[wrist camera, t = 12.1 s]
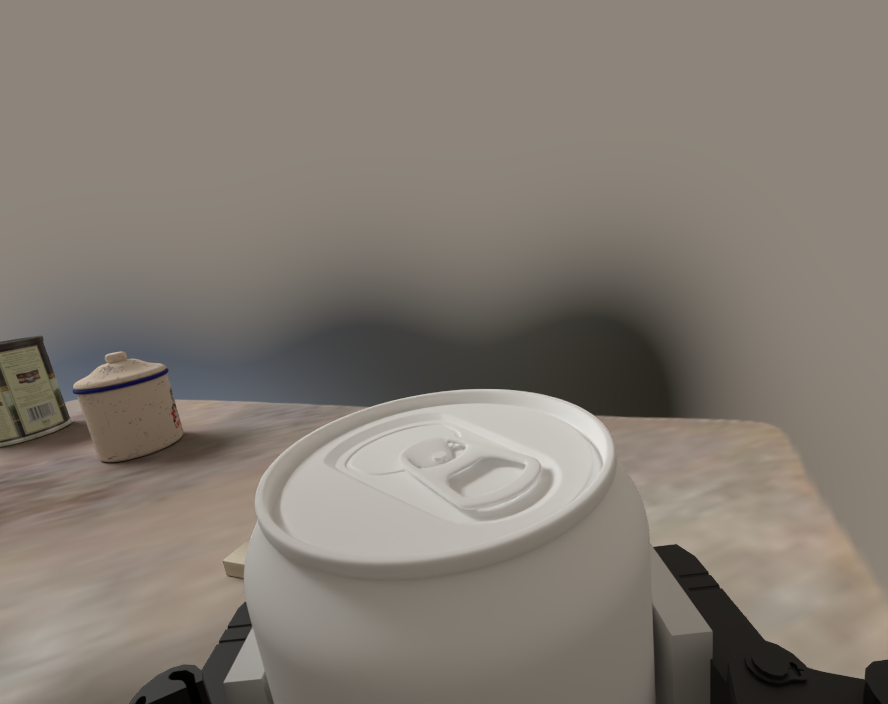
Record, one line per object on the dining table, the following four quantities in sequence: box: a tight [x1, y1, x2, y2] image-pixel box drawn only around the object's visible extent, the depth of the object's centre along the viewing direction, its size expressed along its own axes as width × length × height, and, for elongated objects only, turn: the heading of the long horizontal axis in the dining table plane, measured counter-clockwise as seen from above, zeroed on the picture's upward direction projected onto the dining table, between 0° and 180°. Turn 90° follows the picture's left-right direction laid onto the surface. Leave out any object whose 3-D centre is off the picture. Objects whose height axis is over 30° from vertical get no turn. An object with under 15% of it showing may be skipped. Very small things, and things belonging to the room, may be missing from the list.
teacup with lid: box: [73, 352, 183, 462], centre depth 51 cm, size 12×9×12 cm
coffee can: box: [0, 336, 72, 447], centre depth 63 cm, size 10×10×14 cm
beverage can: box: [244, 389, 656, 704], centre depth 10 cm, size 8×8×12 cm
